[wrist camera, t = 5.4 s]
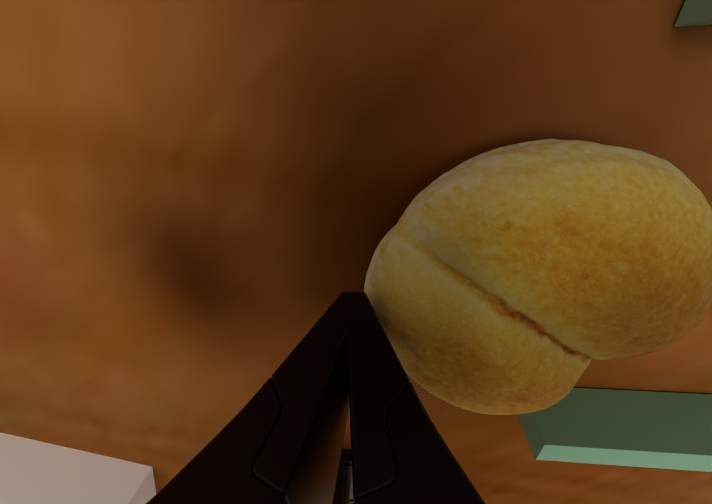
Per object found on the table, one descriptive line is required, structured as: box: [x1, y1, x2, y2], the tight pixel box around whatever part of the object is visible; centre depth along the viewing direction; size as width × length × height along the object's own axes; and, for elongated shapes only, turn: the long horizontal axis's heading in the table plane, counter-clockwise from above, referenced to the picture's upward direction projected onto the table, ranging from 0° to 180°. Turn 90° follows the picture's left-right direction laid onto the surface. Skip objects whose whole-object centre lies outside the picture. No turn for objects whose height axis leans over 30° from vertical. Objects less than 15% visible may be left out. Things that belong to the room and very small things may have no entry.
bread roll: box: [364, 138, 712, 415], centre depth 8 cm, size 8×9×4 cm
